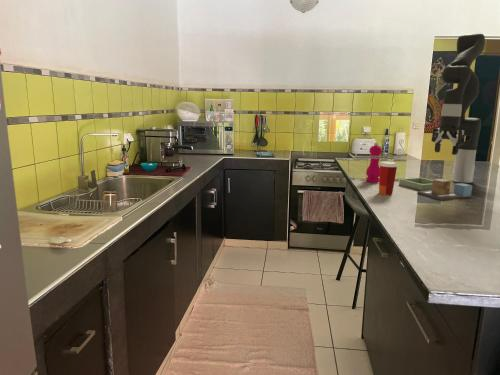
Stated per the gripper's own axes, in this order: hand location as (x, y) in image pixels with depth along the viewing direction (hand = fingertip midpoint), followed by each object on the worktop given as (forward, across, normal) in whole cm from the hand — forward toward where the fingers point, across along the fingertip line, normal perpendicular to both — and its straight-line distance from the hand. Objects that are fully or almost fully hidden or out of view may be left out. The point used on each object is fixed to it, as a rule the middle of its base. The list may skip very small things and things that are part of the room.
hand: (445, 153), depth 168 cm
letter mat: (+19, 0, 0) cm, 19 cm away
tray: (+19, +16, -7) cm, 26 cm away
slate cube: (+19, -2, -11) cm, 22 cm away
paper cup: (+19, +10, +21) cm, 31 cm away
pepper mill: (+19, +34, +8) cm, 40 cm away
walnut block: (+18, 0, 0) cm, 18 cm away
